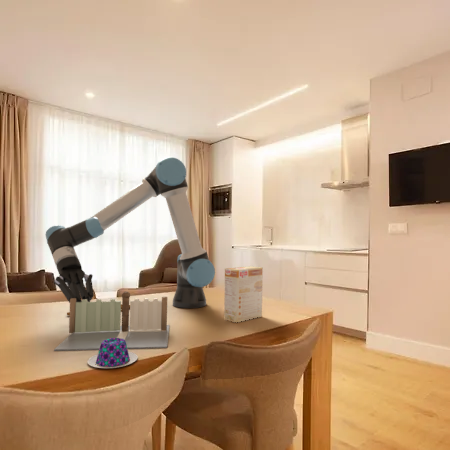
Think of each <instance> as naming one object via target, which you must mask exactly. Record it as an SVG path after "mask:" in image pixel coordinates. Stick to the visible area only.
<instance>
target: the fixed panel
mask: <svg viewBox="0 0 450 450" xmlns="http://www.w3.org/2000/svg"><path fill="white" fill-rule="evenodd" d="M129 305H130V308H129V326H130V330H159V329H161V330H162V331H165V330H167V325H168V296H162V297H161V300H159V298H157V297H156V298H155V297H154V298H153V299H152V300H150V299H149V297H146V298H145V297H144V298H143V300H140V298H139V297H138V298H135V297H134V300H129Z"/></svg>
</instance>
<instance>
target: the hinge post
mask: <svg viewBox="0 0 450 450" xmlns="http://www.w3.org/2000/svg"><path fill="white" fill-rule="evenodd" d="M121 297H122V298H121V304H122V309H121V310H122V312H121V326H122V331H123V332H126V331H129V326H130V308H129V305H130V298H131V294H130V292H129V291H123V292H122V294H121Z"/></svg>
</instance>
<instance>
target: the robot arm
mask: <svg viewBox="0 0 450 450" xmlns="http://www.w3.org/2000/svg"><path fill="white" fill-rule="evenodd" d="M186 178H187V168H186V166H185V164H184V163H183V162H182V160H180V159H179V158H176V157H173V156H168V157H164V158H162V159H161V160H159V161H158V162H157V164H156V165H155V167H154V168H153V170H151V172H150V173H149V174H148V175H146V176H145V177H144V178H142V180H141V181H142V182H140V183H139V184H137V185H136V186H135V187H133V188H132V189H130V190H128V191H127V192H126V193H125V194H123V195H122V196H120V197H118V198H117V199H115V200H114V201H112V202H111V203H109V205H107V206H106V207H104V208H103V209H101V210H100V211H98V212H96V213H95V214H94V215H92V216H90V217H89V218H86V219H85V220H83V221H80V222H78V223H76V224H73V225H70V226H68V227H65V226H64V225H60V224H58V225H52V226H50V227H49V228H48V229H47V230H46V231H45V238H46V244H47V246H48V248H49V251H50V254H51V255H52V259H53V261H54V264H55V267H56V269H57V272H58V276H56V278H55V279H54V281H53V283H54V284H55V285H56V286H57V287H58V288H59V290H60V291H61V292H62V294H63V295H64V297H65V298H66V300H67V302H68V303H69V304H70V299H71V298H76V302H82V300H86V299H87V302H92V299H93V298H94V296H95V294H94V287H93V281H92V280H93V276H94V275H93V274H92V273H90V274H86V273H85V271H84V270H83V267H82V264H81V262H80V259H79V257H78V255H77V252H76V249H75V247H76V246H80V245H83V243H87V242H89V241H91V240H93V239H97V238H98V237H100V236H102V235H103V234H104V231H106V230H107V229H109V227H111V226H113V225H114V224H115V223H117V222H119V221H120V220H121V219H122V218H124V217H126V216H127V215H128V214H130V213H131V212H133V211H134V210H135V209H137V208H139V207H140V206H141V205H142V204H144V203H146V202H147V201H149V200H150V199H151V198H157V197H158V196H159V195H160V196H161V197H163V198H165V201H166V205H167V207H168V211H169V213H170V218H171V221H172V225H173V228H174V231H175V234H176V238H177V242H178V244H179V248H180V251H181V254H179V255H178V256H177V260H176V262H177V270H176V278H177V279H176V289H175V292H174V296H173V298H172V306H173V307H175V308H180V309H181V308H182V309H196V308H203V307H205V306H206V305H207V299H206V296H205V292H204V287H206V286H208V285H210V284H211V283H212V282H213V280H214V278H215V275H216V274H215V273H216V269H215V266H214V264H213V263H212V261H210V258H209V255H208V250H206V249H204V248H203V247H202V244H201V243H202V242H201V240H200V236H199V233H198V230H197V226H196V222H195V220H194V216H193V213H192V209H191V206H190V201H189V198H188V195H187V190H188V189H189V186H188V183H187V182H188V181H187V179H186ZM84 282H85V283H84Z"/></svg>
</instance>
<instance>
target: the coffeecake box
mask: <svg viewBox="0 0 450 450" xmlns="http://www.w3.org/2000/svg"><path fill="white" fill-rule="evenodd" d="M223 312H224V317H223V319H225V321H227V320H229V321H228V322H231V321H232V323H235V322H236V323H237V322H238V323H242V322H246V321H249V319H250V320H254V319H257V317H258V318H261V316H262V317H263V267H259V266H253V265H252V266H251V265H250V266H239V267H228V268H224V309H223ZM253 318H254V319H253ZM245 320H246V321H245ZM241 321H242V322H241ZM238 323H237V324H238Z"/></svg>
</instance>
